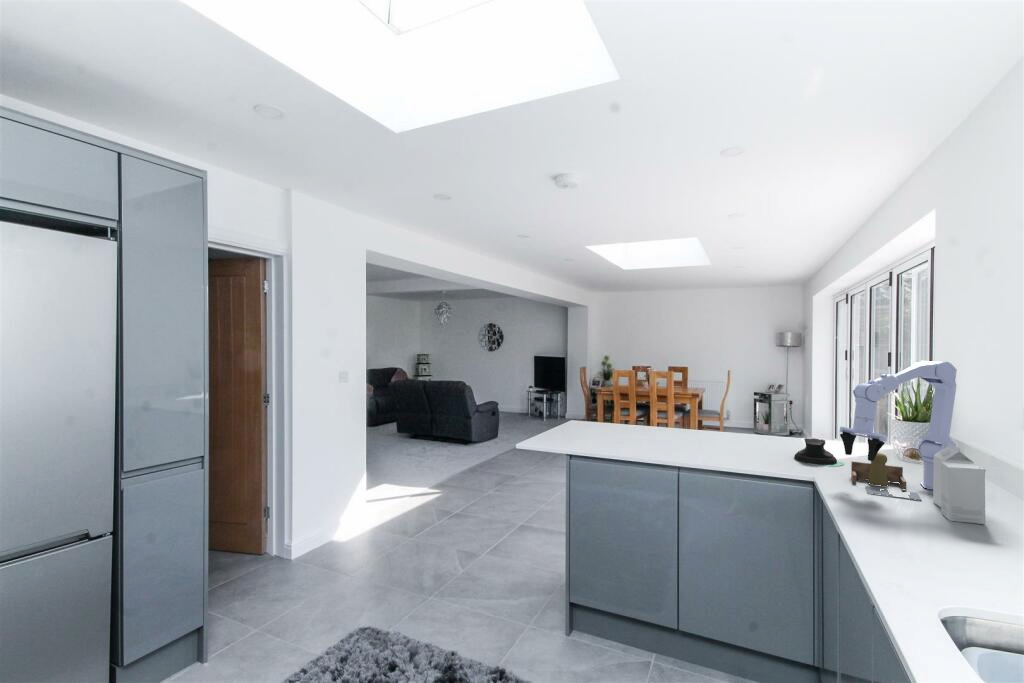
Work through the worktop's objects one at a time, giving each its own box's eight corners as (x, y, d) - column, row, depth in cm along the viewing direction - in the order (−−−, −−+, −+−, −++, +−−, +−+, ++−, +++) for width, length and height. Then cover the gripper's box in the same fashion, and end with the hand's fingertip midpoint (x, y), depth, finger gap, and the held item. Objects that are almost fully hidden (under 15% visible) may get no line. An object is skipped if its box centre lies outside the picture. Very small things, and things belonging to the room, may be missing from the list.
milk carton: (960, 505, 154) (961, 444, 154) (973, 512, 147) (974, 448, 147) (932, 502, 156) (933, 442, 156) (944, 510, 149) (944, 447, 149)
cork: (892, 487, 172) (892, 455, 172) (872, 486, 173) (873, 454, 173) (882, 482, 178) (883, 452, 178) (864, 481, 179) (864, 451, 179)
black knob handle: (779, 455, 220) (779, 434, 220) (823, 455, 221) (823, 435, 221) (807, 467, 200) (807, 444, 200) (855, 467, 201) (855, 444, 201)
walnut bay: (902, 483, 177) (902, 466, 177) (906, 490, 168) (906, 473, 168) (851, 477, 185) (851, 461, 185) (852, 483, 176) (853, 466, 176)
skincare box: (976, 518, 143) (976, 464, 143) (986, 525, 137) (987, 469, 137) (939, 513, 146) (939, 460, 146) (948, 521, 140) (948, 466, 140)
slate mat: (917, 493, 165) (917, 492, 165) (921, 501, 157) (921, 499, 157) (865, 486, 172) (865, 485, 172) (867, 493, 165) (867, 492, 165)
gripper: (835, 413, 176) (831, 451, 176) (878, 421, 162) (873, 462, 162) (849, 415, 178) (844, 452, 178) (892, 423, 165) (887, 463, 165)
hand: (859, 457), depth 170 cm, fingers open, 7 cm apart
